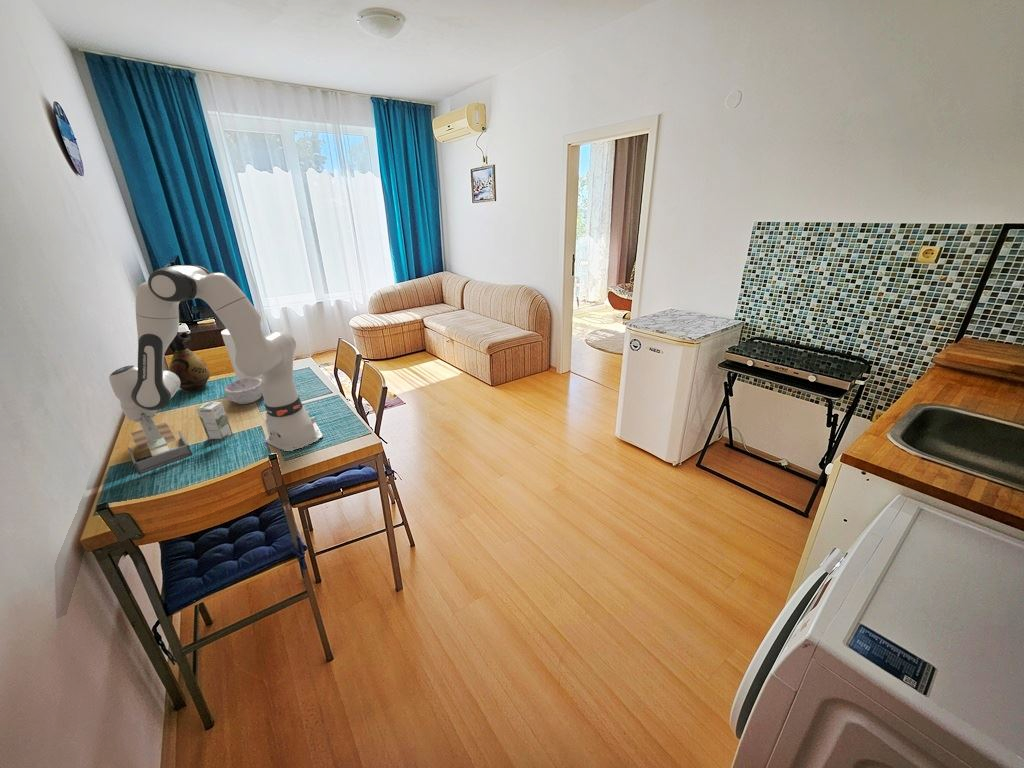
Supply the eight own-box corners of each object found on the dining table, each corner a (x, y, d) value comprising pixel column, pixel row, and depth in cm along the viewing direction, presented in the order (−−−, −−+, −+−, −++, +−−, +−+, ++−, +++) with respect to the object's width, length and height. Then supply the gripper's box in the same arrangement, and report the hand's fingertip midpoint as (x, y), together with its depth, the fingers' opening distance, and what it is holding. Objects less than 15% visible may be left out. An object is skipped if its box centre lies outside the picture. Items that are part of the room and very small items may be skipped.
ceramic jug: (221, 382, 206) (201, 325, 193) (193, 396, 192) (169, 336, 179) (194, 380, 209) (172, 324, 197) (165, 393, 196) (139, 334, 183)
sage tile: (169, 448, 149) (166, 443, 148) (152, 454, 146) (149, 449, 145) (166, 442, 152) (163, 437, 151) (149, 448, 149) (146, 442, 148)
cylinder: (246, 392, 194) (227, 337, 182) (234, 383, 205) (216, 330, 193) (283, 381, 205) (268, 328, 194) (271, 372, 216) (255, 321, 204)
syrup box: (219, 434, 160) (206, 401, 154) (233, 433, 160) (221, 401, 154) (208, 442, 155) (195, 408, 149) (223, 441, 155) (210, 408, 148)
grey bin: (192, 455, 147) (188, 444, 145) (139, 474, 137) (133, 464, 135) (184, 440, 156) (179, 430, 154) (133, 458, 146) (127, 448, 144)
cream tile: (172, 455, 146) (169, 449, 145) (155, 461, 143) (152, 456, 142) (169, 450, 150) (167, 444, 148) (152, 456, 146) (149, 450, 145)
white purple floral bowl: (255, 407, 180) (249, 391, 177) (221, 407, 181) (215, 391, 177) (274, 392, 194) (269, 377, 191) (243, 392, 194) (237, 377, 191)
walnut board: (177, 442, 155) (175, 439, 154) (140, 455, 148) (138, 452, 147) (167, 425, 167) (165, 422, 167) (132, 436, 160) (131, 433, 160)
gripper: (156, 415, 141) (172, 448, 147) (147, 398, 154) (161, 429, 160) (133, 422, 137) (150, 456, 143) (125, 404, 150) (141, 436, 155)
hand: (156, 442), depth 151 cm, fingers closed
